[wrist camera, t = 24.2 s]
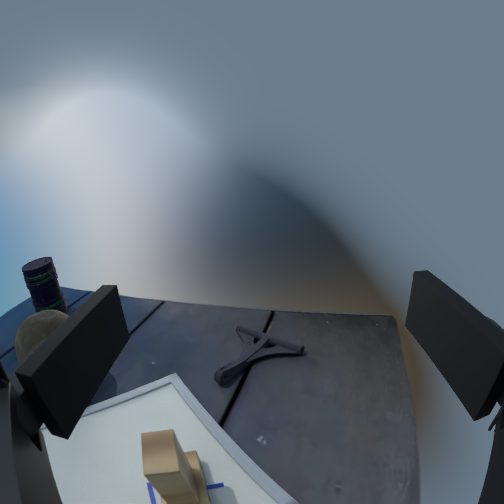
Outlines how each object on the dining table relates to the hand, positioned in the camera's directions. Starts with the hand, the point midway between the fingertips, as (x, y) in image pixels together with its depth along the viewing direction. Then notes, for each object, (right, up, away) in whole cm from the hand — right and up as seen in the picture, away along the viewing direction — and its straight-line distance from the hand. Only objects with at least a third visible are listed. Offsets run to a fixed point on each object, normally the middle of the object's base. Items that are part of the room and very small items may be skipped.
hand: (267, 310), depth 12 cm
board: (-17, -27, +13) cm, 34 cm away
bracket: (-2, -17, +38) cm, 41 cm away
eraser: (-8, -25, +12) cm, 28 cm away
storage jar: (-56, -15, +56) cm, 81 cm away
